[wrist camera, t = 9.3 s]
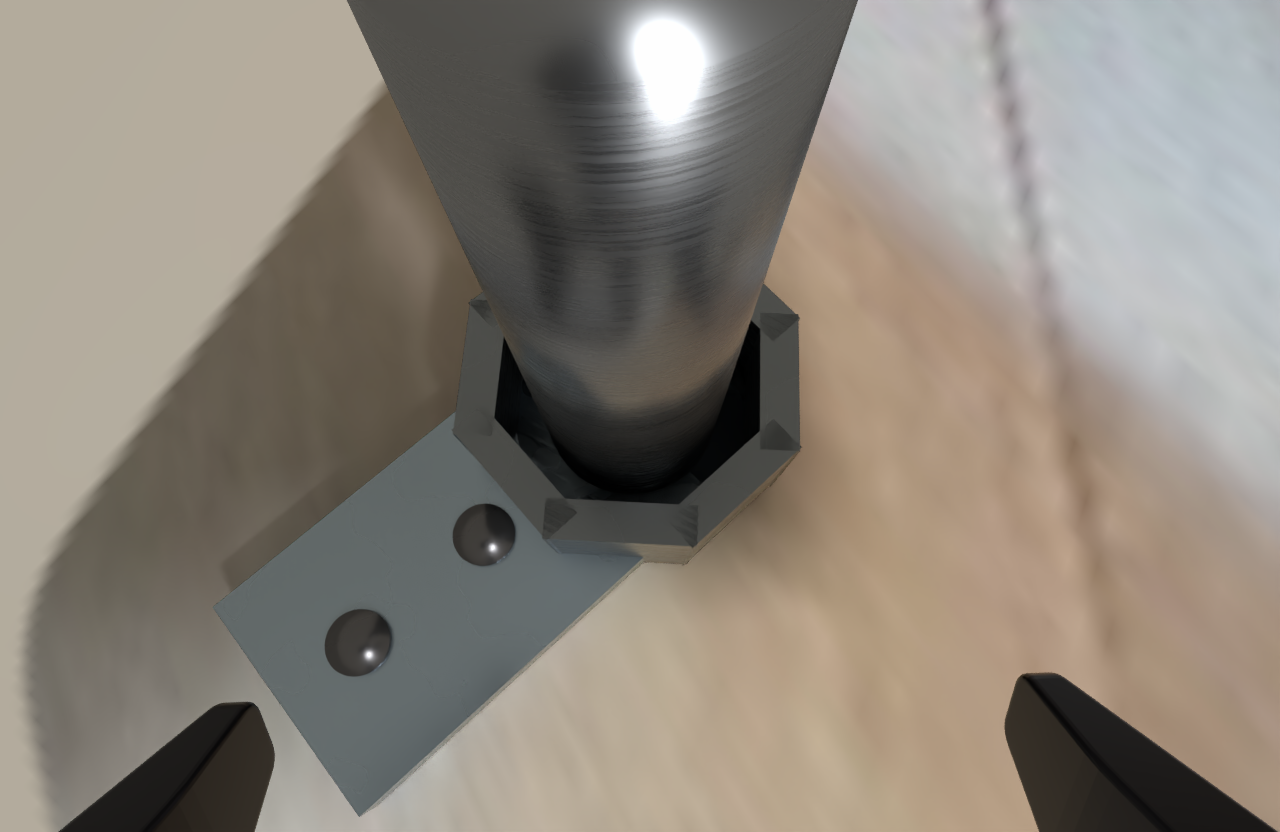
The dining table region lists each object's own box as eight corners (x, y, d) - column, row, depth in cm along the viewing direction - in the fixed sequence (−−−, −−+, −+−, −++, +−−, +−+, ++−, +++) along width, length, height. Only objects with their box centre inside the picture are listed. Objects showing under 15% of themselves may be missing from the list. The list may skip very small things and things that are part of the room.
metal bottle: (646, 529, 16) (655, 97, 3) (514, 426, 17) (90, -265, 4) (748, 398, 17) (1072, -349, 4) (618, 305, 18) (549, -578, 5)
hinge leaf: (396, 834, 16) (329, 888, 12) (220, 584, 17) (117, 572, 14) (830, 431, 18) (872, 384, 15) (642, 246, 20) (642, 166, 16)
